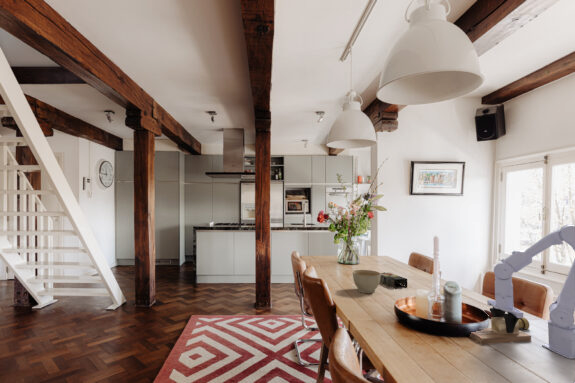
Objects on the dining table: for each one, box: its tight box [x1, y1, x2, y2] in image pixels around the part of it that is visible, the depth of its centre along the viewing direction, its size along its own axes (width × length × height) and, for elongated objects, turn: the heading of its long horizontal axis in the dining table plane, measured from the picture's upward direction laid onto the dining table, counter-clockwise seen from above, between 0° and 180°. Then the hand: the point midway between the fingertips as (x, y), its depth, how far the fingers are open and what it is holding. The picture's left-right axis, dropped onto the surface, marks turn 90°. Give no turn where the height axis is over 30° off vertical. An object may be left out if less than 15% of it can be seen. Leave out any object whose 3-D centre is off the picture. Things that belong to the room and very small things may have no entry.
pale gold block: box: [490, 317, 520, 335], centre depth 116 cm, size 4×8×5 cm, turn 97°
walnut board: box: [469, 327, 532, 345], centre depth 116 cm, size 8×20×2 cm, turn 97°
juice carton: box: [379, 272, 408, 290], centre depth 194 cm, size 20×10×6 cm, turn 16°
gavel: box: [484, 309, 530, 330], centre depth 133 cm, size 21×5×10 cm
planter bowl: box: [352, 269, 382, 294], centre depth 178 cm, size 16×16×11 cm
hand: (504, 330), depth 116 cm, fingers closed on pale gold block, 4 cm apart
